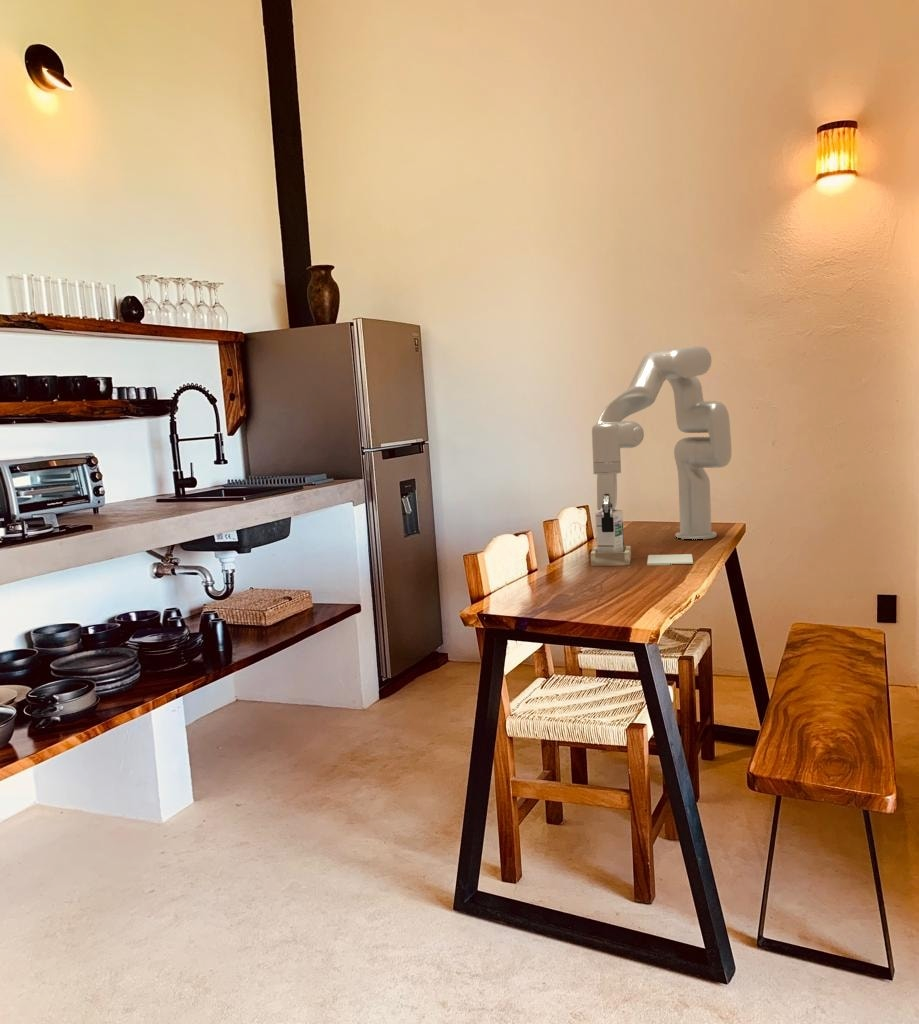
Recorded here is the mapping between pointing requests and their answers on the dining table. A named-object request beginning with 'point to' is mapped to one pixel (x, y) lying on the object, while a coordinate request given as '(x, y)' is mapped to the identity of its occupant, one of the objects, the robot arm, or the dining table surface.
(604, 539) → the syrup box
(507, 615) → the dining table surface
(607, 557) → the holder
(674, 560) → the mat
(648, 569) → the dining table surface
